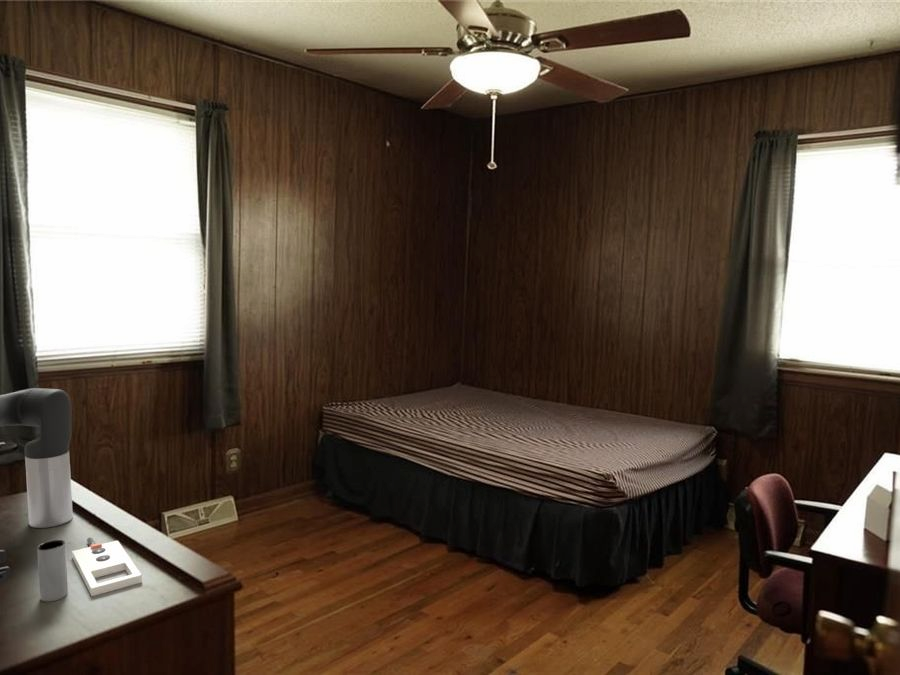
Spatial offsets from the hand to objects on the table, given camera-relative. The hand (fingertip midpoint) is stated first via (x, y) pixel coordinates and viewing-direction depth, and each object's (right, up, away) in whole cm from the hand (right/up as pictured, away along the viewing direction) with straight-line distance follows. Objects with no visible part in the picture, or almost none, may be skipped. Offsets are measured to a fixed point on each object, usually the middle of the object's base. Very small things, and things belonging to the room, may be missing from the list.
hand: (7, 563), depth 119 cm
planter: (+5, -8, +6) cm, 11 cm away
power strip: (+7, -7, +19) cm, 21 cm away
